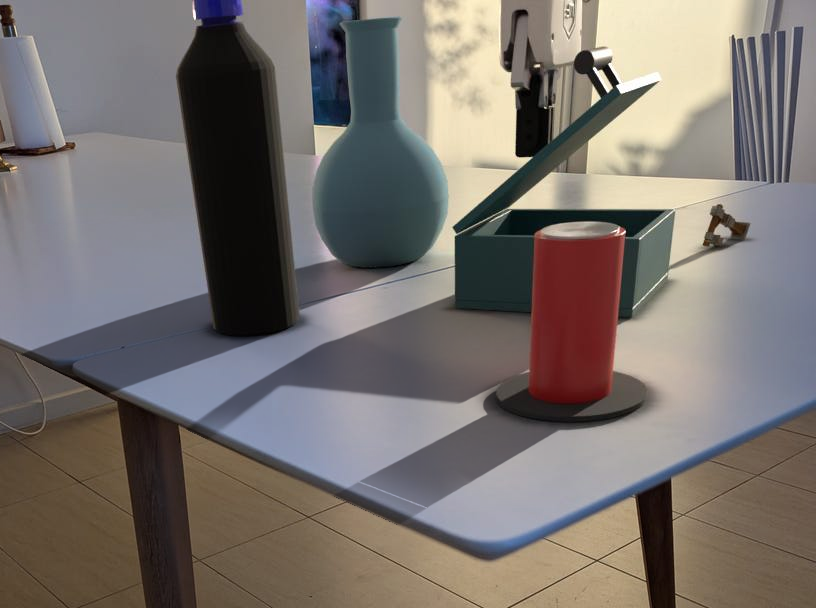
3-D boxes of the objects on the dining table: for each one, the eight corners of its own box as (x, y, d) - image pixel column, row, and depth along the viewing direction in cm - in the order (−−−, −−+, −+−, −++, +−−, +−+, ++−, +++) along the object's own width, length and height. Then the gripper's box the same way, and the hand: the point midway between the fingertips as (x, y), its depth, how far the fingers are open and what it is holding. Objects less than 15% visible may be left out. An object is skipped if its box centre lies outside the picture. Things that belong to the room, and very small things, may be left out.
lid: (661, 79, 86) (631, 27, 85) (621, 93, 76) (586, 34, 75) (509, 207, 98) (481, 163, 98) (456, 234, 88) (424, 185, 87)
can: (627, 387, 68) (643, 224, 62) (578, 409, 65) (589, 240, 59) (561, 372, 72) (570, 218, 66) (512, 393, 69) (516, 233, 63)
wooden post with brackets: (694, 242, 104) (708, 200, 103) (723, 260, 110) (736, 220, 108) (708, 244, 103) (723, 201, 102) (737, 261, 109) (751, 221, 107)
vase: (466, 263, 109) (467, 9, 95) (331, 280, 107) (311, 23, 93) (425, 239, 123) (420, 15, 109) (305, 255, 120) (284, 27, 106)
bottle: (289, 308, 97) (255, -14, 82) (308, 327, 90) (275, -21, 75) (207, 320, 96) (158, -5, 80) (220, 341, 89) (168, -12, 73)
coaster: (677, 389, 68) (677, 384, 67) (586, 433, 62) (587, 428, 62) (556, 363, 75) (556, 358, 75) (465, 401, 69) (465, 395, 69)
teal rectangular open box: (667, 280, 95) (675, 209, 91) (631, 317, 84) (639, 238, 80) (505, 274, 102) (506, 208, 99) (454, 308, 92) (454, 235, 88)
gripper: (558, -97, 71) (547, 166, 81) (610, -88, 81) (594, 144, 92) (468, -84, 74) (467, 168, 84) (529, -76, 85) (522, 146, 95)
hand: (533, 155), depth 88 cm, fingers closed
